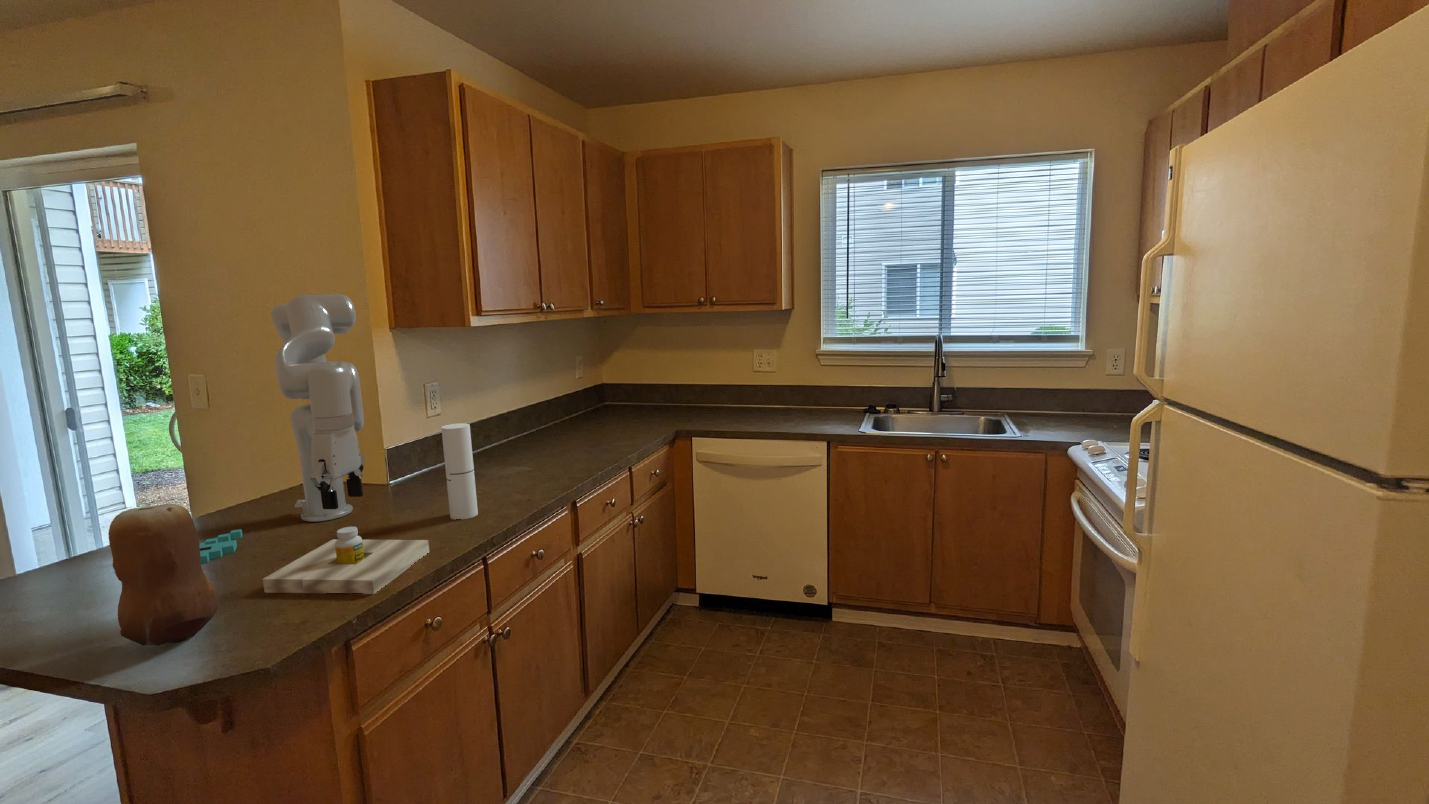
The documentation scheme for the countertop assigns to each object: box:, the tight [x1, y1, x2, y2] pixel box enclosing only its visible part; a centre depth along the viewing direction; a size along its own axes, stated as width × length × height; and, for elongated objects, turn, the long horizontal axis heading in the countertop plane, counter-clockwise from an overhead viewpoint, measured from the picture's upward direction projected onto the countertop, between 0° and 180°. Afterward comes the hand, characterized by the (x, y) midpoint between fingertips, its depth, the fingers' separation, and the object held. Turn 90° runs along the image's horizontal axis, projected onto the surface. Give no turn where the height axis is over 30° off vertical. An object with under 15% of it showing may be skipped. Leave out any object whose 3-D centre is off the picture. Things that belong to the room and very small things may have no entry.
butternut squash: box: [108, 503, 219, 646], centre depth 118 cm, size 14×13×25 cm
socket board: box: [262, 538, 430, 595], centre depth 148 cm, size 24×22×3 cm
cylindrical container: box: [440, 422, 479, 520], centre depth 181 cm, size 7×7×25 cm
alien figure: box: [199, 528, 244, 565], centre depth 160 cm, size 20×2×20 cm
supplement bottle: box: [335, 526, 365, 564], centre depth 147 cm, size 5×5×10 cm
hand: (343, 502), depth 145 cm, fingers open, 7 cm apart
